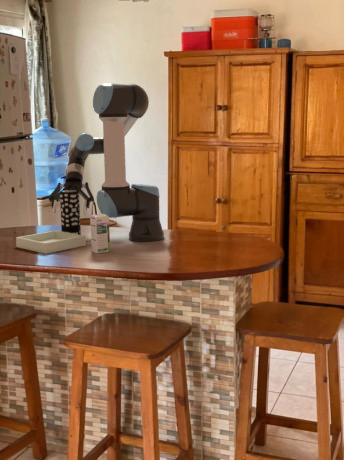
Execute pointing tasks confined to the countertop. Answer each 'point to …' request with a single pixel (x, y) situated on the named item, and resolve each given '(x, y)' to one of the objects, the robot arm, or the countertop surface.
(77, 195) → the spotted tube
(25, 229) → the countertop surface
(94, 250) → the syrup box
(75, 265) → the countertop surface
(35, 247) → the tray
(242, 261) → the countertop surface
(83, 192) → the robot arm
